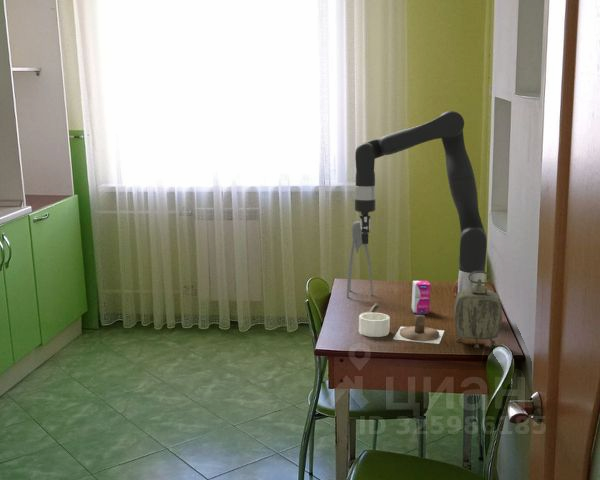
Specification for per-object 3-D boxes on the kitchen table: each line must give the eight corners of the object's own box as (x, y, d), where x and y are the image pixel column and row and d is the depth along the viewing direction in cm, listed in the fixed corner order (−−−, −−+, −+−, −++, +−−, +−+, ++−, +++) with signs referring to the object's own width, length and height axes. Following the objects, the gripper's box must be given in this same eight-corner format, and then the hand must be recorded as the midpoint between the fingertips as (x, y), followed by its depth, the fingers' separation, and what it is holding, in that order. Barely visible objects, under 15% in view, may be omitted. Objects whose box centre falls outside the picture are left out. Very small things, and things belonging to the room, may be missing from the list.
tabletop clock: (497, 343, 251) (502, 269, 246) (500, 352, 242) (505, 275, 237) (452, 341, 253) (456, 267, 248) (453, 350, 244) (457, 273, 240)
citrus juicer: (348, 290, 318) (350, 218, 312) (373, 291, 317) (375, 219, 311) (346, 297, 307) (348, 223, 301) (371, 298, 305) (373, 224, 300)
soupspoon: (356, 323, 275) (374, 326, 274) (356, 314, 275) (375, 317, 273) (368, 305, 296) (385, 308, 294) (368, 297, 295) (385, 299, 294)
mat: (444, 332, 263) (444, 330, 262) (439, 345, 248) (439, 343, 248) (400, 328, 267) (400, 326, 267) (393, 340, 253) (393, 339, 253)
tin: (459, 303, 300) (460, 282, 298) (451, 302, 301) (452, 281, 300) (472, 295, 312) (473, 275, 311) (464, 294, 314) (465, 274, 312)
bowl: (391, 331, 263) (391, 314, 262) (385, 339, 254) (386, 322, 253) (362, 328, 266) (363, 311, 265) (356, 336, 257) (356, 319, 256)
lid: (441, 331, 262) (442, 312, 261) (436, 342, 250) (437, 323, 248) (403, 327, 266) (403, 309, 264) (396, 338, 253) (397, 319, 252)
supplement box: (413, 314, 284) (415, 284, 282) (411, 309, 290) (412, 280, 288) (429, 314, 284) (430, 284, 282) (426, 309, 290) (427, 280, 288)
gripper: (376, 200, 272) (375, 245, 275) (374, 195, 286) (374, 238, 289) (355, 200, 273) (354, 245, 276) (354, 195, 287) (354, 238, 290)
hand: (364, 241), depth 283 cm, fingers open, 8 cm apart
